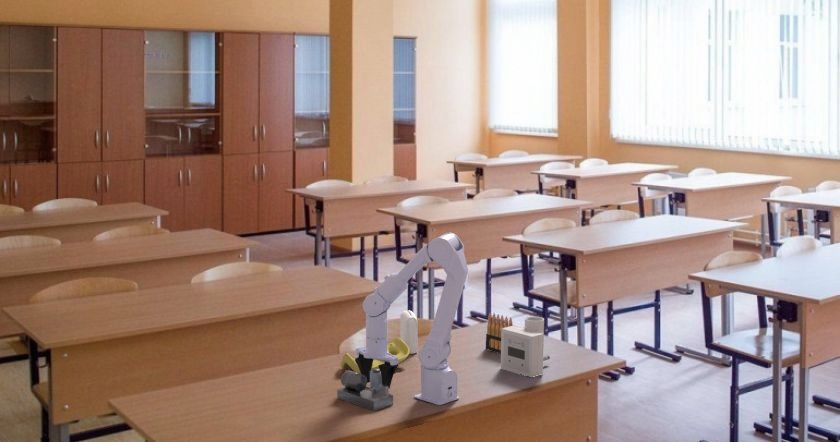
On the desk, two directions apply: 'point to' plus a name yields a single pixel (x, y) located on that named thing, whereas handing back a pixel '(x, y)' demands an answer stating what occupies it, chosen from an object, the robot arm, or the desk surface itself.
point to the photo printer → (409, 330)
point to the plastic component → (394, 348)
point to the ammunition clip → (495, 331)
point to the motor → (363, 392)
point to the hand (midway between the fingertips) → (376, 385)
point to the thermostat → (523, 347)
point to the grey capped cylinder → (375, 378)
